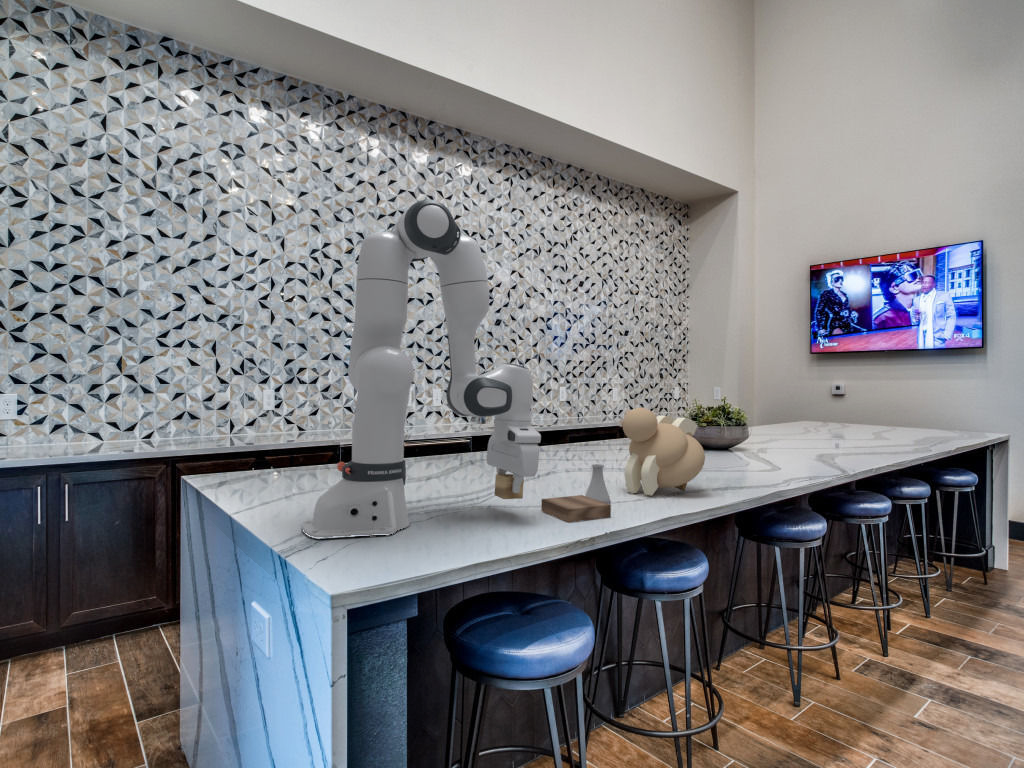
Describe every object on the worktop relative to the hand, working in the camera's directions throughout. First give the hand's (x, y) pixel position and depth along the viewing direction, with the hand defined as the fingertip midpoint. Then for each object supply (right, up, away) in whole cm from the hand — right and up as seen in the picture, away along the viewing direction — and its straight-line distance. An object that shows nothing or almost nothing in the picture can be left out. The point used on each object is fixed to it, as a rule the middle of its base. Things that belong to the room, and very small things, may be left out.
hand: (508, 489), depth 139 cm
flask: (+23, -6, +16) cm, 29 cm away
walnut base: (+16, -6, +2) cm, 17 cm away
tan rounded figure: (+45, -7, +32) cm, 56 cm away
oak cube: (0, -2, 0) cm, 2 cm away
